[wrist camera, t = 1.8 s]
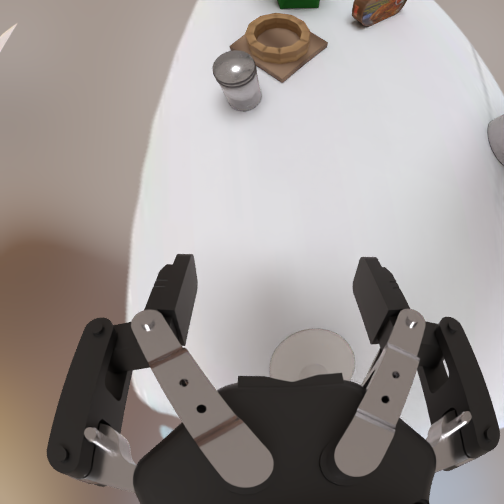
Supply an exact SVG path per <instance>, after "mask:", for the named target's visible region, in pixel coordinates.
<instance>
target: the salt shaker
mask: <svg viewBox="0 0 504 504" xmlns="http://www.w3.org/2000/svg"><path fill="white" fill-rule="evenodd" d="M213 74H214V77H215V78H216V80H217V82H218V83H219V84H220V86H221V88H222V90H223V92H224V94H225V96H226V98H227V100H228V102H229V104H230V105H231V106H232V107H233V108H234V109H236V110H239V111H248V110H251V109H253V108H255V107H256V106H257V105H258V104H259V103H260V101H261V98H262V94H261V89H260V85H259V81H258V77H257V70H256V65H255V61H254V59H253V58H252V57H251V55H250V54H248V53H246V52H244V51H239V50H234V51H229V52H226V53H224V54H222V55H220V56H219V57H218V58H217V59H216V60H215V62H214V64H213Z"/></svg>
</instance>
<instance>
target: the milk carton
mask: <svg viewBox="0 0 504 504" xmlns="http://www.w3.org/2000/svg"><path fill="white" fill-rule="evenodd" d="M319 2H320V0H278V3H279V6H280V9H286V8H318V7H319Z"/></svg>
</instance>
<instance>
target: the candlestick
mask: <svg viewBox="0 0 504 504" xmlns="http://www.w3.org/2000/svg"><path fill="white" fill-rule="evenodd" d="M354 367H355V359H354V354H353V351H352V349H351V347H350V345H349V344H348V343H347V341H346V340H345V339H344V338H342V337H341V336H340V335H338V334H336V333H334V332H332V331H329V330H324V329H308V330H303V331H300V332H297V333H295V334H293V335H291V336H289V337H288V338H286V339H285V340H284V341H282V342H281V343H280V344H279V346H278V347H277V348H276V350H275V351H274V353H273V355H272V358H271V362H270V376H271V378H274V379H279V380H284V381H290V382H294V381H298V380H301V379H305V378H308V377H312V376H315V375H319V374H332V373H342V375H343V380H348V381H350V379H351V377H352V375H353V372H354Z"/></svg>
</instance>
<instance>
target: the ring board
mask: <svg viewBox="0 0 504 504" xmlns="http://www.w3.org/2000/svg"><path fill="white" fill-rule="evenodd" d="M327 44H328V42H326V41H324V40H323V39H321V38H320V37H318V36H316V35H315V34H313V33H311V32H310V30H309V29H308V27H307V25H306V24H305V22H304V21H302V20H300V19H298V18H296V17H294V16H292V15H288V14H280V13H273V14H268V15H264V16H260V17H258V18H257V19H255V20H254V21H253V22H251V23H250V24H249V25H248V28H247V30H246V33H245V35H243V36H242V37H241V38H240V39H238V40H237V41H236V42H234V43H233V44H232V45H231V46H230V49H231V51H234V50H239V51H244V52H246V53H248V54H250V55H251V57H252V58H253V59H254V61H255V65H256V66H258V67H259V68H261V69H263V70H264V71H266V72H267V73H269V74H270V75H272V76H273V77H275V78H276V79H277V80H279V81H280V82H282V83H283V82H284V81H285V80H286V79H287V78H289V77H290V76H291V75H292V74H293V73H295V72H296V71H297V70H298V69H299V68H301V67H302V66H303V65H304V64H306V63H307V62H308V61H309V60H311V59H312V58H313V57H314V56H316V55H317V54H318V53H319V52H321V51H322V50H323V49H325V48H326V47H327Z"/></svg>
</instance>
